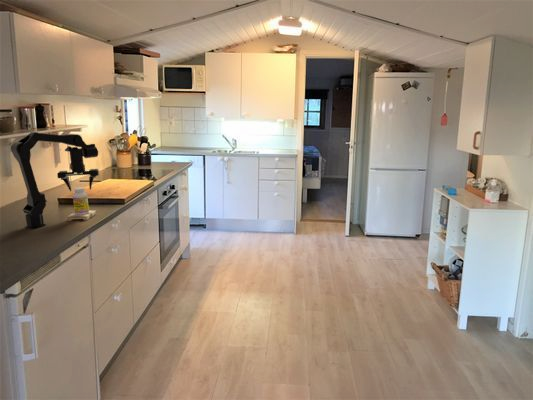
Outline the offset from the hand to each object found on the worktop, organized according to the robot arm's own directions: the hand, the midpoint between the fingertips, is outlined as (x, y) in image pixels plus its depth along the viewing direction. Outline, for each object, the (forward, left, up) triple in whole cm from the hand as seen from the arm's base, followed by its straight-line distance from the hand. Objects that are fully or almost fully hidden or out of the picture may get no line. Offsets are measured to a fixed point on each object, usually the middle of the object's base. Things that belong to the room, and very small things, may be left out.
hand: (80, 190), depth 221 cm
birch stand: (-3, -2, -13) cm, 14 cm away
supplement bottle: (-3, -2, -11) cm, 12 cm away
